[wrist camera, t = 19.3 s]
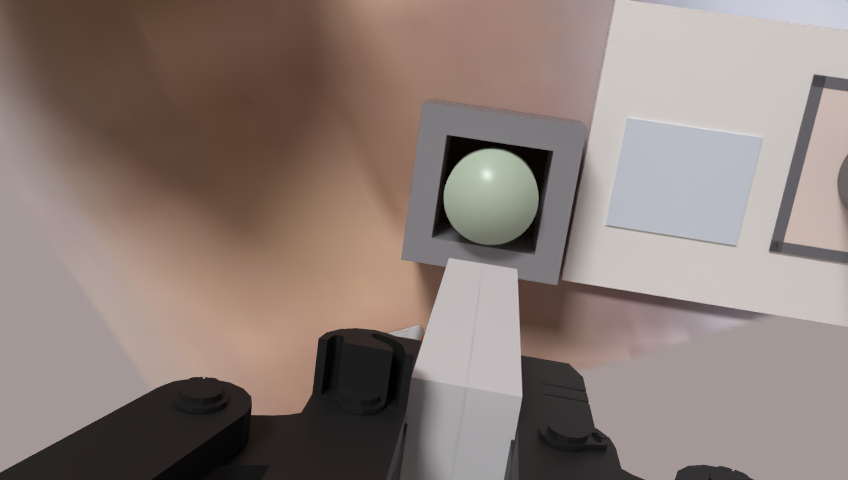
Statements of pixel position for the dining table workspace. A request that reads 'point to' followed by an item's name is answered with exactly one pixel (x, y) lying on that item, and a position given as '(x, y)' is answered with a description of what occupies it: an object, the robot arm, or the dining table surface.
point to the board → (717, 163)
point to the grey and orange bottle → (843, 181)
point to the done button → (491, 196)
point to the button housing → (449, 119)
